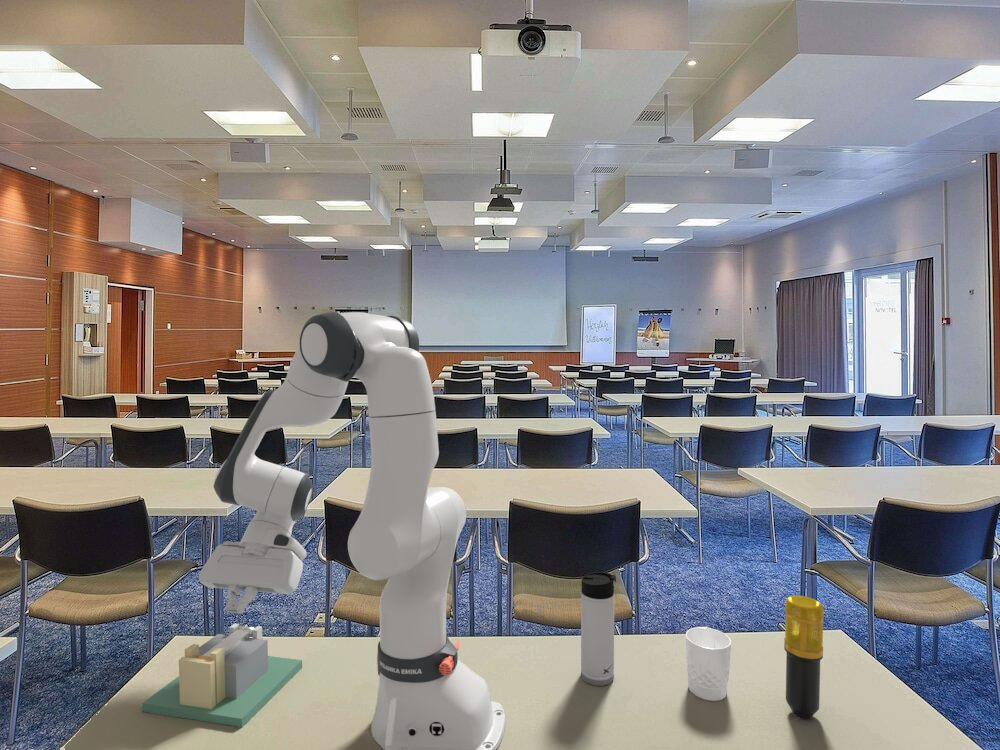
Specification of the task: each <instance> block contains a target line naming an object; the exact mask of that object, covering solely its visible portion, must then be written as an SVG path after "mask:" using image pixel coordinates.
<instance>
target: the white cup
mask: <svg viewBox="0 0 1000 750" xmlns="http://www.w3.org/2000/svg"><path fill="white" fill-rule="evenodd" d="M731 649H732V640H731V638H730V636H728V635H727V634H726V633H725V632H722V631H721V630H718V629H715V628H710V627H706V626H701V627H700V626H697V627H691V628H690V629H688V630H687V631H686V632H685V651H686V652H685V656H686V670H687V672H686V673H687V687H688V689H689V690H690V691H689V692H691V693H692V694H693V695H694V696H696V697H698V698H699V699H702V700H705V701H709V702H711V701H712V702H714V701H715V702H716V701H722V700H723V699H725V698H727V695H728V684H729V678H730V676H729V675H730V668H731V667H730V666H731V651H732V650H731Z"/></svg>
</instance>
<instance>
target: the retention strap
mask: <svg viewBox="0 0 1000 750" xmlns="http://www.w3.org/2000/svg"><path fill="white" fill-rule="evenodd" d="M254 628H255V627H249V626H241V625H239V626H238V627H237V628H236V630H235V632H233V633H232V634H231V635H229V634H228V635H229V636H228V637H227V638H225V639H224V640H222V641H221V642H220V643H218V644H217V645H216V646H214V647H213V648H212V649H210V650H209V651H208V652H206V653H205V654H204V655H202V656H200V655H198V656H196V657H195V658H197V659H204V660H210V653H211V652H212V651H214V650H215V649H217V648H218V647H220V648H224V657H225V656H226V655H228V654H229V653H230V652H231V651H233V650H234V649H235V648H236V647H238V646H239V645H240V644H241V643H243V642H244V641H245V640H246V639H248V638H253V633H252V630H253V629H254Z"/></svg>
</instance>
